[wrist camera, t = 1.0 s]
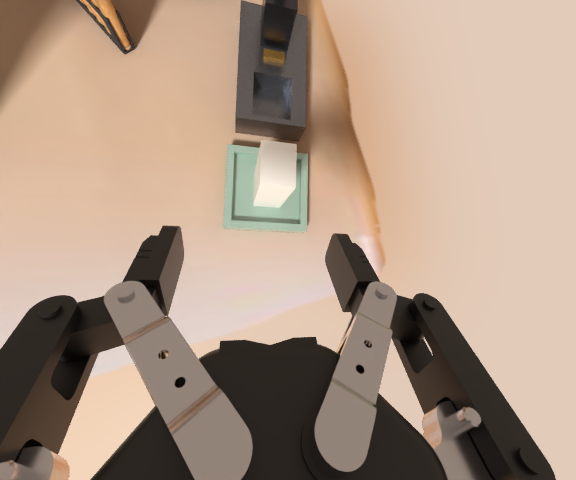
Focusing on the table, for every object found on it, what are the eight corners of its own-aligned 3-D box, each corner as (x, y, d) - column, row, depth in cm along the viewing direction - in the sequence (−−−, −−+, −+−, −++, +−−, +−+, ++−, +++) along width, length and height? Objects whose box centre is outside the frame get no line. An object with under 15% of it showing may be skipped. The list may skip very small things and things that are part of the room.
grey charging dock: (235, 132, 38) (235, 65, 25) (240, 26, 39) (243, -86, 27) (298, 140, 40) (328, 82, 27) (300, 39, 42) (329, -59, 29)
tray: (223, 229, 36) (223, 226, 34) (227, 150, 37) (227, 144, 35) (303, 233, 38) (306, 231, 36) (304, 159, 40) (307, 153, 38)
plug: (252, 205, 36) (259, 184, 26) (254, 173, 37) (261, 139, 27) (279, 207, 37) (296, 187, 27) (280, 175, 37) (296, 144, 28)
